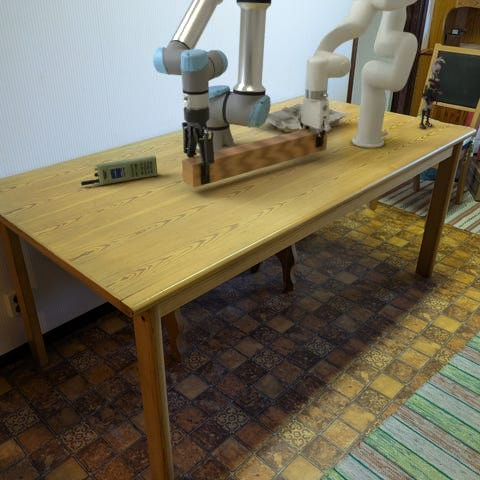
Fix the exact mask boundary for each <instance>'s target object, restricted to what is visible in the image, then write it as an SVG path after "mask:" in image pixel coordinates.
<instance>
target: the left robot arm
mask: <svg viewBox="0 0 480 480" xmlns="http://www.w3.org/2000/svg"><path fill="white" fill-rule="evenodd" d="M223 2H224V0H192V1H191V2H190V4H189V6H188V7H187V10H186V12H185V14H184V15H183V17H182V19H181V21H180V23H179V24H178V26H177V28H176V30H175V31H174V33H173V35H172V37H171V39H170V41H169V42H168V44H167V46H166V47H165V46H164V47H158V48H156V49H155V51H154V53H153V55H152V65H153V67H154V69H155V71H156V72H157V73H160V74H163V75H168V76H171V75H172V76H181V86H182V103H183V105H182V106H183V119H184V121H183V122H181V127H182V134H183V135H182V143H183V145H182V146H183V147H182V148H183V153H184V154H186V157H187V158H190V157H194V156H198V153H199V155H201V160H202V164H200V165H201V184H202V186H205V185H208V184H207V183H209V184H211V183H210V164H213V163H214V152H215V151H219V150H223V149H227V148H231V147H235V140H234V138H233V135H232V132H231V128H230V127H231V125H234V126H241V127H247V128H254V129H255V128H261V127H263V126H264V124H265V123H267V122H266V120H267V117H268V115H269V114H270V111H271V104H272V101H271V96H270V95H268V94H266V91H267V88H265V86H264V85H263V71H264V56H265V55H264V53H265V39H266V37H265V36H266V35H265V34H266V24H267V23H266V21H267V10H268V9H269V8H270V7H271V5H272V0H236V1H235V3H236V4H237V6H238V8H239V9H240V13H239V14H240V17H239V37H238V38H239V42H238V62H237V63H238V65H237V82H236V84H235V85H233V87H232V91H231V88H230V86H229V85H223V84H222V85H211V86H210V85H209V82H210V81H212V80H214V79H217V78H219V77H221V76H222V75H223V74H225V72H226V71H227V69H228V66H229V61H228V57H227V56H226V54H225V52H223V51H222V50H219V49H210V50H209V51H206V50H204V49H199V48H196V47H197V45H198V43H199V41H200V39H201V37H202V35H203V33H204V32H205V30H206V27H207V26H208V23H209V21H210V20H211V18H212V16H213V14H214V12H215V10H216V8H217V7H218V6H219V5H220V4H222V3H223ZM197 152H198V153H197ZM204 184H205V185H204Z"/></svg>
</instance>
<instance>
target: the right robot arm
mask: <svg viewBox="0 0 480 480" xmlns="http://www.w3.org/2000/svg"><path fill="white" fill-rule="evenodd" d="M417 1H418V0H354V2H353V3H352V5H351V7H350V9H349V11H348V12H347V14H346V16H345V18H344V20H343V21H342V22H340V23H339V24H338V25H337V26H334V28H333V29H331V30H330V31H329V32H328V33H327V34H326V35H325V36H324V37H323V38H322V39H321V41H320V42H319V44H318V46H317V47H316V49H315V51H314V53H313V56H309V57H308V58H307V60H306V72H305V88H304V97H303V100H302V103H301V104H302V111H301V116H300V117H299V118H298V121H299V123H300V125H301V127H302V130H304V129H308V128H310V127H313V128H316V130H317V135H318V136H317V137H316V147H317V148H318V147H321V146H323V139H324V136H325V134H326V133H329V132H330V131H331V129H332V126H330V125H329V109H330V103H329V99H328V98H329V93H328V88H329V87H328V85H329V79H333V78H334V79H340V78H344V77H346V76H347V75H348V74H349V73H350V71H351V68H352V62H351V60H350V58H349V57H348V56H346V55H344V54H342V53H341V54H340V53H336V52H335V51H336V50H337V49H338V48H339V47H340V46H341V45H343V44H345V43H347V42H349V41H352V40H355V39H357V38H360V37H362V36H364V35H365V34H366V33H367V31H368V29H369V27H370V25H371V24H372V22H373V20H374V18H375V16H376V15H377V13H378V12H379V11H380V12H382V15H381V20H380V24H379V28H378V30H377V34H376V37H375V40H374V44H373V52H374V54H375V55H376V56H378V57H380V58H386V59H391V60H393V62H390V61H384V60H378V59H375V60H374V59H373V60H369V61H367V62H366V63H364V65H363V67H362V69H361V74H360V75H361V76H360V77H361V79H360V81H361V97H360V104H359V112H358V118H357V119H358V120H357V127H356V135H355V136H354V137H352V138H351V143H352V144H353V145H355V146H357V147H359V148H367V149H377V148H380V147H384V145H385V141H384V139H383V137H384V136H387V135H388V134H389V133H388V131H387V130H383V125H384V119H385V113H386V105H387V93H386V91H389V92H394V93H397V92H400V91H402V90H403V89H404V87H405V86H406V84H407V82H408V80H409V77H410V74H411V71H412V68H413V65H414V62H415V58H416V55H417V51H418V45H419V44H418V39H417V37H416V35H415V34H414V33H411V32H407V31H404V28H405V25H406V23H407V22H406V21H407V9H406V7H408V6H410V5H413V4H415V3H416V2H417ZM320 129H321V132H320Z"/></svg>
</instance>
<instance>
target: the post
mask: <svg viewBox="0 0 480 480" xmlns="http://www.w3.org/2000/svg"><path fill="white" fill-rule="evenodd" d="M320 132H321V129H320ZM328 133H329V132H328ZM328 133H326V134H325V136H324V139H323V146H321V147H318V148H317V147H316V137H317V136H318V135H317V130H316V128H313V127H312V128H308V129H304V130H300V131H296V132H292V133H291V132H287V133H284V134H280V135H276V136H272V137H268V138H263V139H259V140H256V141H251V142H247V143H244V144H239V145H236V146H235V145H234V147H231V148H227V149H223V150H219V151H215V152H214V163H213V164H210V183H207V184H204V185H202V184H201V165H200V164H202V160H201V155H200V154H199V155H198V154H197V155H194V157H190V158H188V157H187V158H183V159H181V165H182V182H183V183H184V184H186V185H188V186H189V187H191V188H194V189H195V188H197V187H202V186H205V185H208V184H212V183H215V182H219V181H222V180H226V179H229V178H232V177H236V176H239V175H240V176H241V175H244V174H248V173H251V172H254V171H258V170H261V169H264V168H268V167H271V166H275V165H279V164H282V163H285V162H289V161H292V160H297V159H299V158H303V157H306V156H311V155H313V154H317V153H320V152H324V151H326V150H327V144H328V143H327V142H328Z"/></svg>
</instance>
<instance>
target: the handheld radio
mask: <svg viewBox="0 0 480 480" xmlns="http://www.w3.org/2000/svg"><path fill="white" fill-rule="evenodd" d="M157 164H158V163H157V156H156V155H147V156H141V157H140V156H139V157H134V158H127V159H121V160H115V161H108V162H101V163H96V164H93V167H94V168H93V171H97V172H95V173H94V174H93V175H94V177H96V179H90V180H83V181H82V180H81V181H80V185H81V186H88V185H93V184H94V185H96V186H97V187H98V186H99V187H100V186H105V185H109V184H115V183H121V182H128V181H134V180H139V179H144V178H151V177H156V176H158V175H159V174H158V165H157Z"/></svg>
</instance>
